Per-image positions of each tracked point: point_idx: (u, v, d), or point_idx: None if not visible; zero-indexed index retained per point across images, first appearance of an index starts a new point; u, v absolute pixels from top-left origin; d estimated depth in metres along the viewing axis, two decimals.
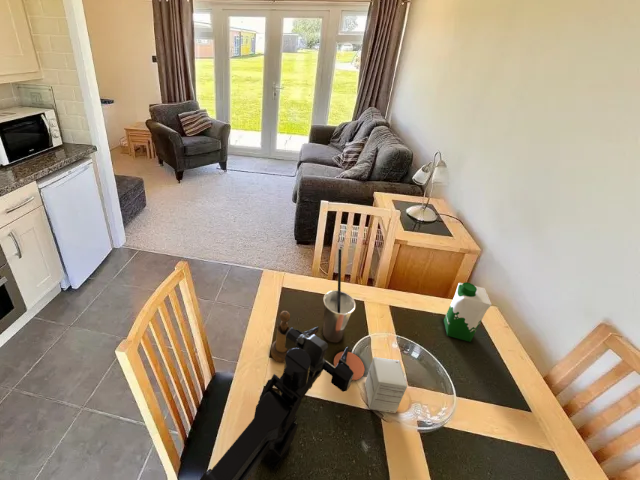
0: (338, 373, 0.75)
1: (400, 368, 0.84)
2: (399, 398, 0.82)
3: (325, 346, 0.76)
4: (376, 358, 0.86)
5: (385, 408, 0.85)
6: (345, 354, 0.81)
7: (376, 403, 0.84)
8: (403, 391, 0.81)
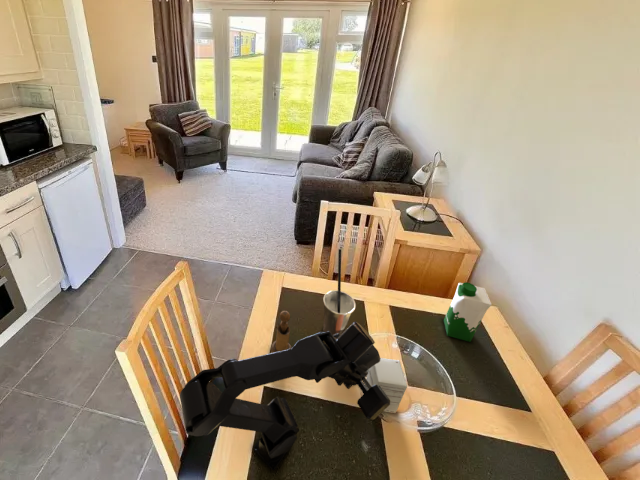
0: (376, 391, 0.69)
1: (400, 368, 0.84)
2: (399, 398, 0.82)
3: (379, 357, 0.73)
4: None
5: None
6: None
7: None
8: (403, 391, 0.81)
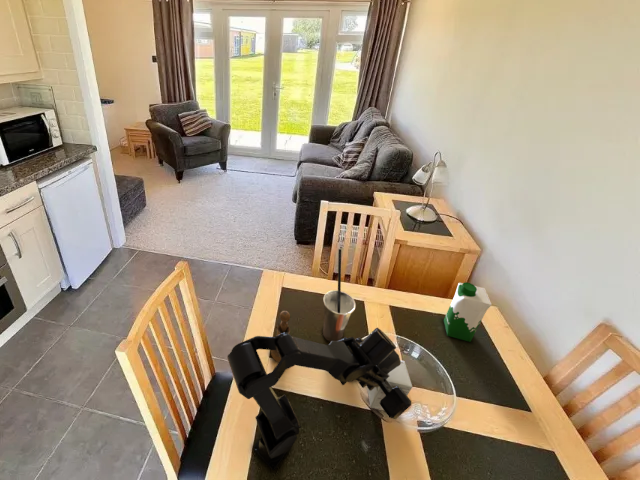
0: (398, 392, 0.74)
1: (405, 369, 0.84)
2: None
3: None
4: None
5: None
6: None
7: (378, 402, 0.84)
8: (407, 391, 0.81)
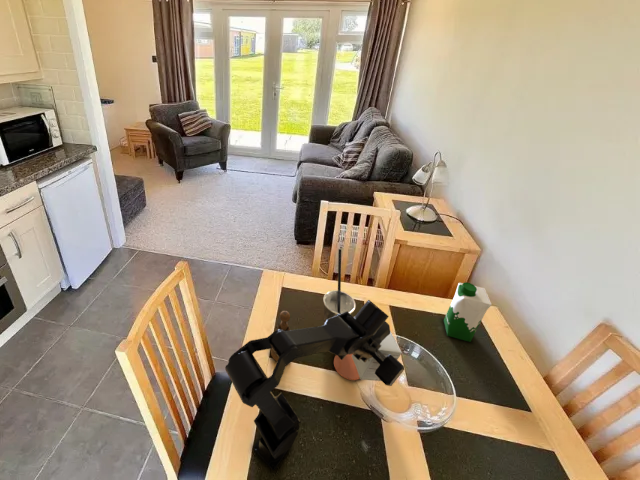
0: (391, 359, 0.77)
1: (392, 337, 0.87)
2: None
3: None
4: None
5: (375, 377, 0.87)
6: None
7: (369, 372, 0.86)
8: (397, 358, 0.84)
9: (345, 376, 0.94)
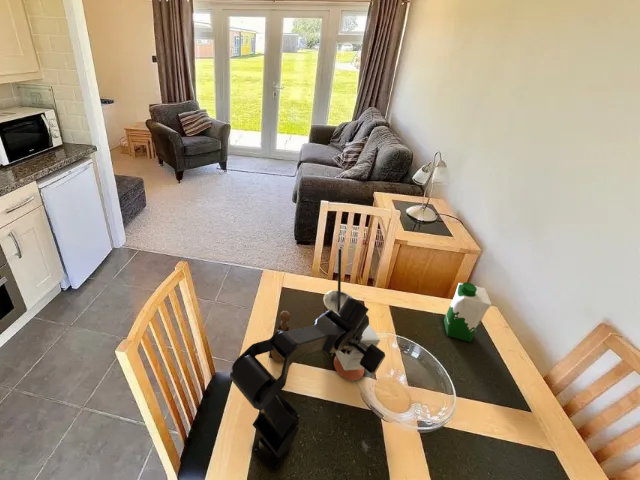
0: (373, 348, 0.82)
1: (369, 326, 0.93)
2: None
3: None
4: None
5: (358, 366, 0.92)
6: None
7: (352, 363, 0.91)
8: (376, 345, 0.90)
9: (345, 376, 0.94)
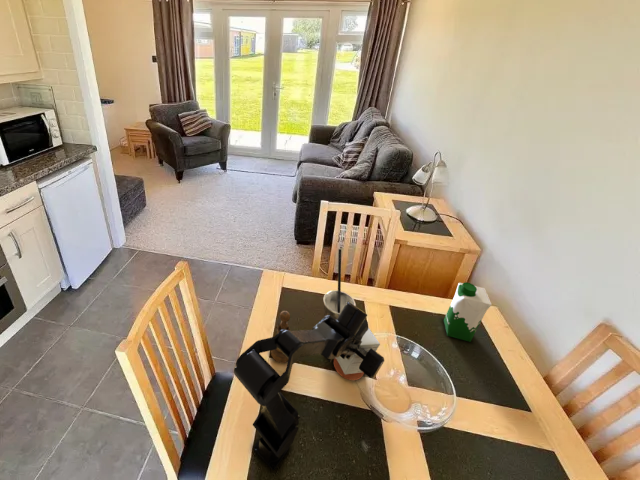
0: (372, 353, 0.83)
1: (369, 330, 0.94)
2: None
3: None
4: None
5: (357, 370, 0.93)
6: None
7: (352, 367, 0.92)
8: (376, 349, 0.91)
9: (345, 376, 0.94)
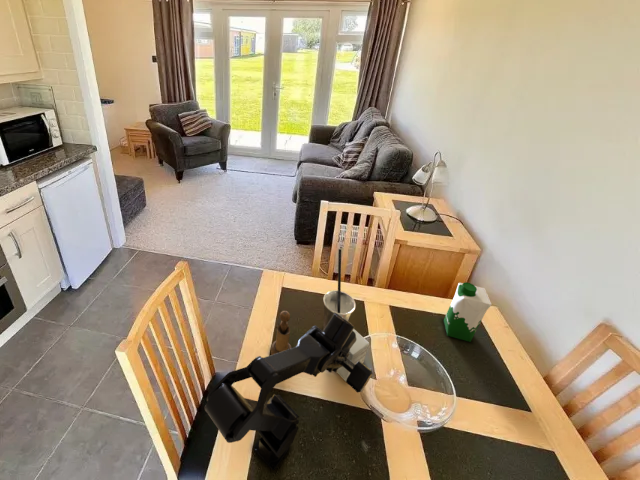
0: (360, 366, 0.80)
1: (355, 331, 0.93)
2: (364, 356, 0.92)
3: None
4: None
5: None
6: None
7: None
8: (367, 348, 0.91)
9: None
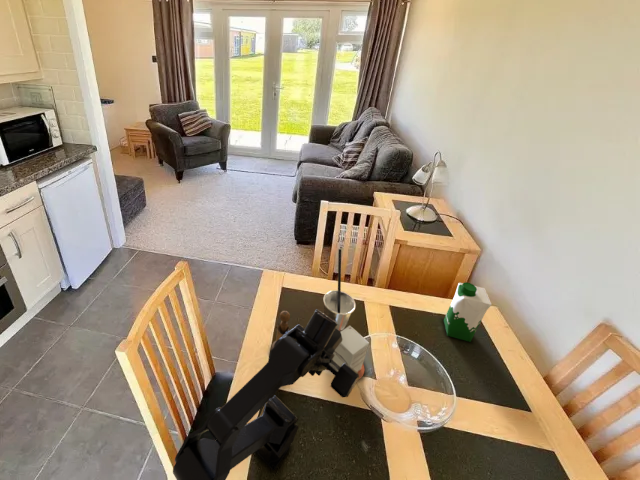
0: (346, 369, 0.73)
1: (355, 331, 0.93)
2: (364, 356, 0.92)
3: (341, 336, 0.76)
4: None
5: None
6: None
7: None
8: (367, 348, 0.91)
9: None
